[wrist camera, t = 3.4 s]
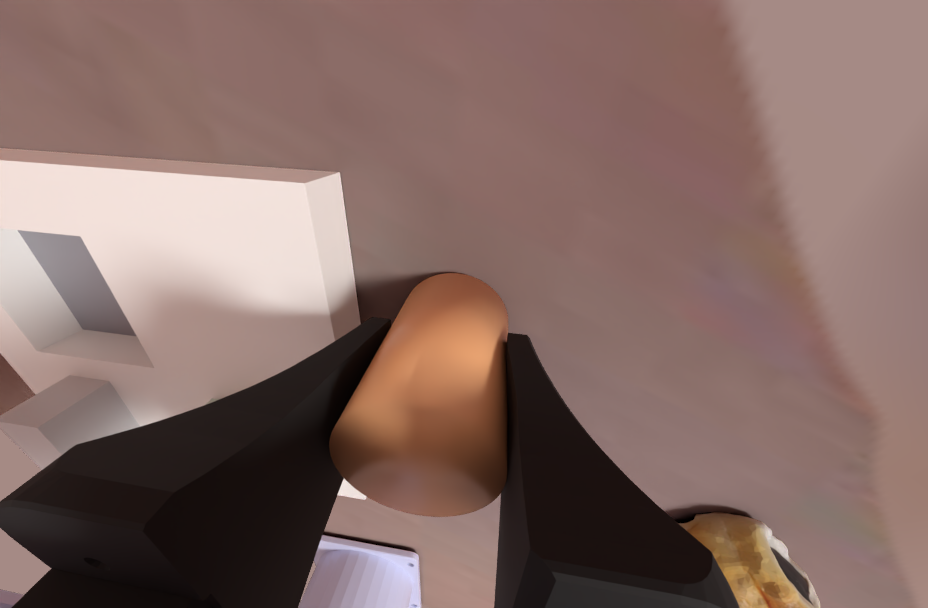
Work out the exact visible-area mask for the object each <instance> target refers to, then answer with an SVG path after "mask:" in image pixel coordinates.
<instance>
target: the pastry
mask: <svg viewBox="0 0 928 608" xmlns="http://www.w3.org/2000/svg"><path fill="white" fill-rule="evenodd" d="M678 524H679V525H681V526H682V527H683V528H684V529H685V530H686V531H688V532H689V533H690V534H691V535H692V536H694V537H695V538H696V539H697V540H698V541H699V542H701V543H702V544H703V545H704V546H705V547H706V548H708V549H709V550H710V551H711V552H712V554H713V556H714V558H715V560H716V562H717V563H718V565H719V567H720V569H721V571H722V572H723V574H724V576H725V578H726V579H727V581H728V583H729V585H730V587H731V589H732V591H733V593H734V596H735V598H736V600H737V602H738V604H739V607H740V608H820V602H819V599H818V597H817V595H816V593H815V590H814V587H813V586H812V584H811V582H810V581H809V579H808V576H807V575H806V573H805V572H804V571H803V570H802V569H801V568H800V567H799V566H798V565H797V564H796V563H795V562H794V561H792V560H791V559H790V557H789V556H788V549H787V547H786V546H785V545H784V544H783V542H782V541H781V540H779V539H777V538H776V537H775V536H773V535H772V531H771V529H770V528H768V527H767V526H766V525H765V524H764V523H763V522H761V521H759V520H756V519H752V518H749V517H745V516H740V515H732V514H729V513H722V512H712V513H709V514H696V516H695V518H694V520H692V521H690V522H688V523H678Z"/></svg>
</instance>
